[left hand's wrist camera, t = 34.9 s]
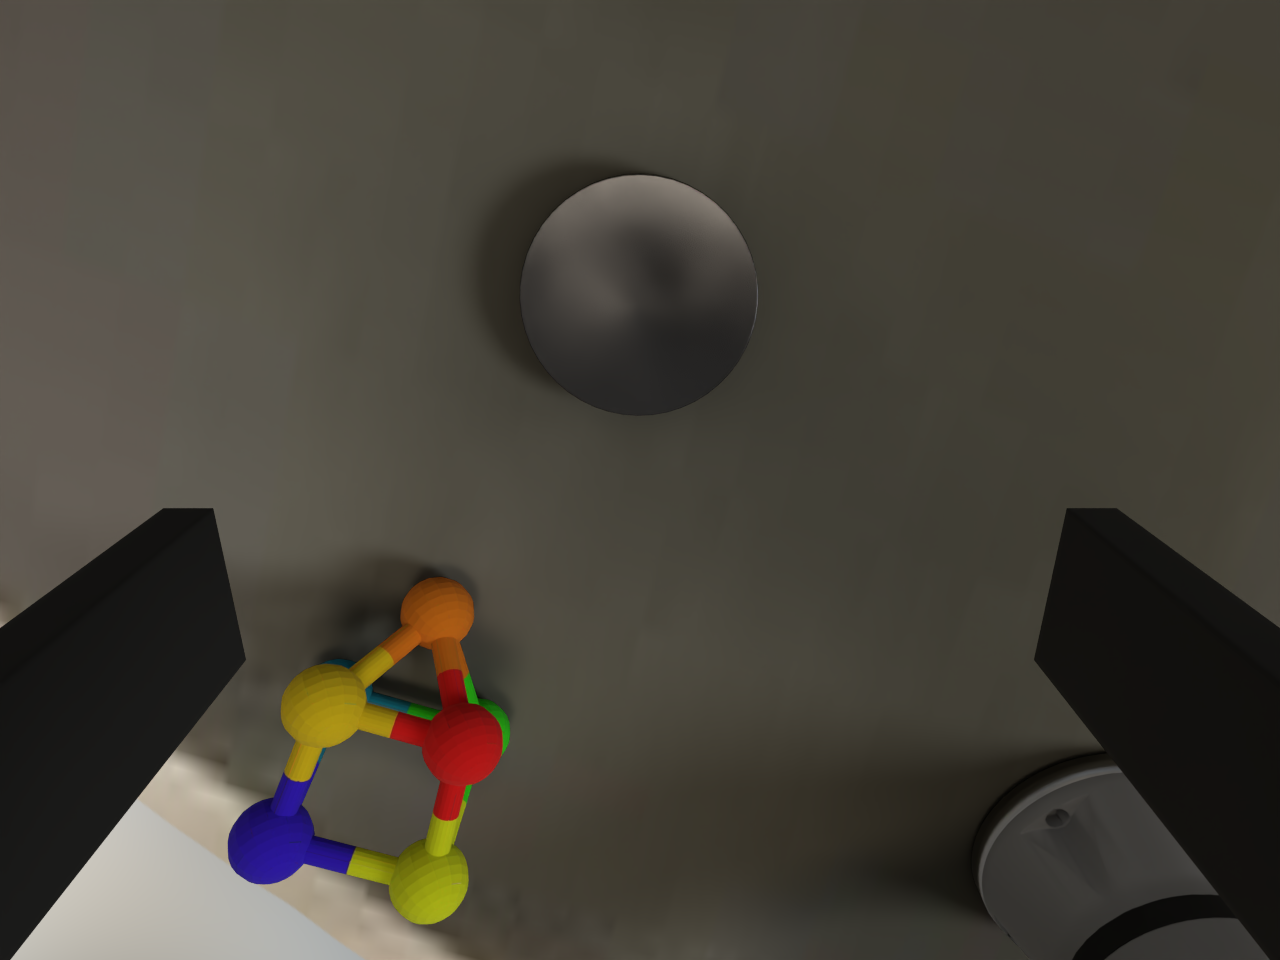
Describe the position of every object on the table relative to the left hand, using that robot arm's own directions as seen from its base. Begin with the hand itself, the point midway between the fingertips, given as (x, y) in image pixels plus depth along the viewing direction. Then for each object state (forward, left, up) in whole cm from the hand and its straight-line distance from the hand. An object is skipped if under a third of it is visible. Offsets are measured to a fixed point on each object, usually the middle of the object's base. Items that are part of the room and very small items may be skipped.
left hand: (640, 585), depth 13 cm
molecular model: (-22, +12, -28) cm, 38 cm away
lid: (0, 0, -26) cm, 26 cm away
